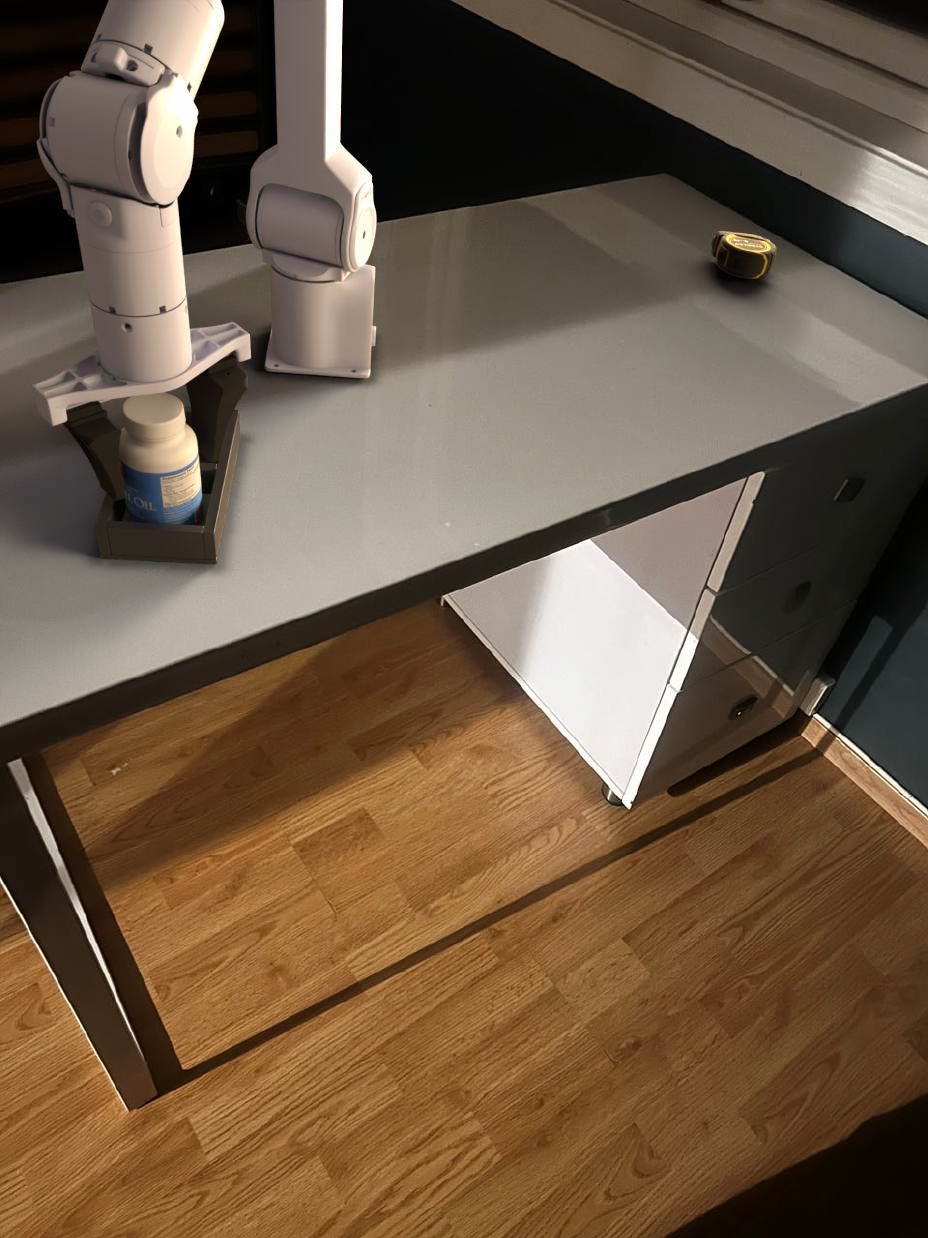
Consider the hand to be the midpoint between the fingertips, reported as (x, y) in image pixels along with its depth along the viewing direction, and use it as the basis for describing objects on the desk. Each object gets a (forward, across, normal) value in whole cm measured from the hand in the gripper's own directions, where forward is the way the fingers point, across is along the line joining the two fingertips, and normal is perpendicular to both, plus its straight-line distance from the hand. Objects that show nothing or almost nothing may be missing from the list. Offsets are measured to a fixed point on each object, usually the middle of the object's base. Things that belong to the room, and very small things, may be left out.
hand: (161, 472), depth 69 cm
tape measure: (+5, -77, -2) cm, 77 cm away
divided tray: (+5, -2, -3) cm, 6 cm away
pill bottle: (+4, 0, 0) cm, 4 cm away
